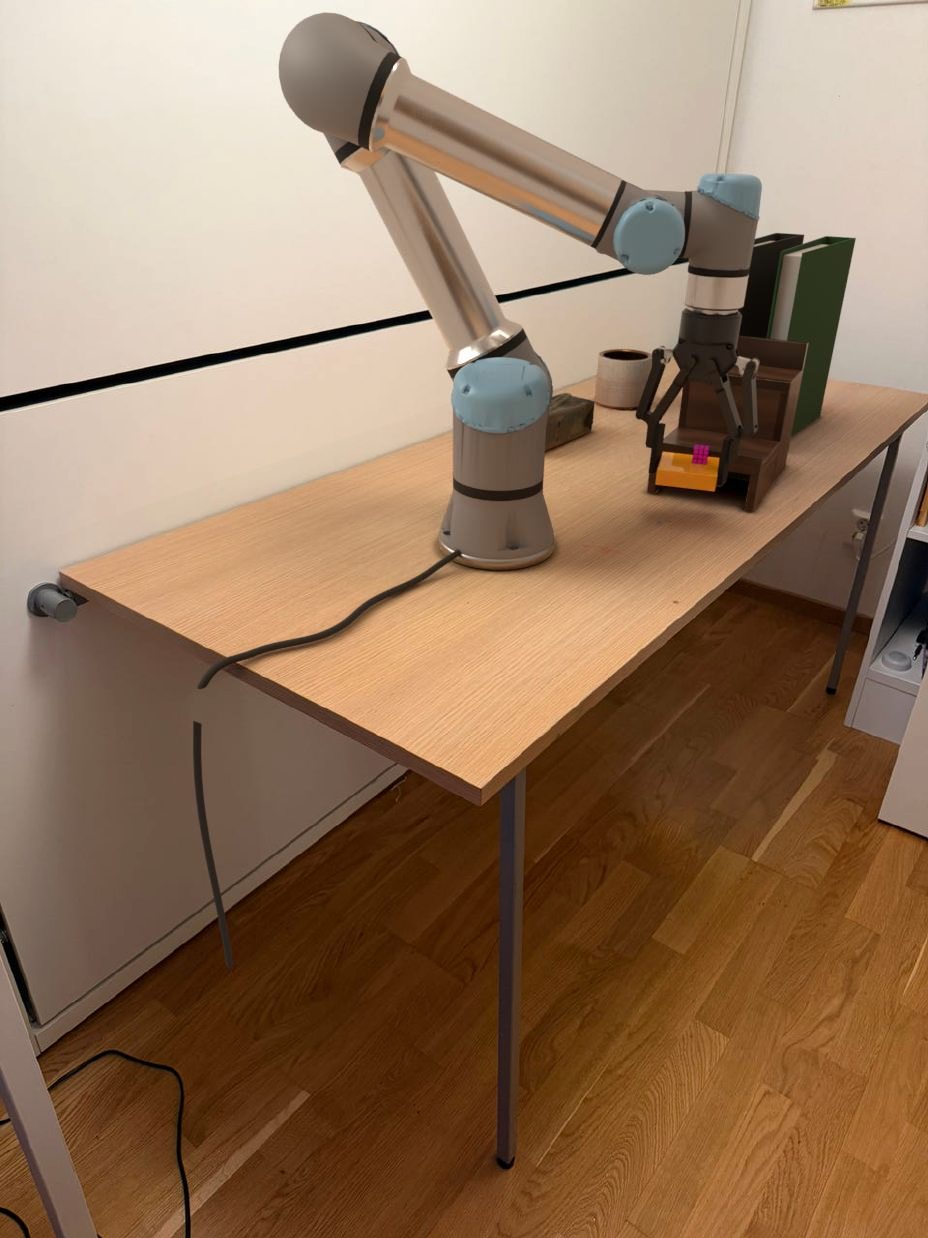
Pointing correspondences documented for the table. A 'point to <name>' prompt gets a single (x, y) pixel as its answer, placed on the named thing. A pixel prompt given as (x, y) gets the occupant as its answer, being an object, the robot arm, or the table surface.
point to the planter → (622, 377)
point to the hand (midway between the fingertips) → (687, 476)
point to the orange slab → (688, 470)
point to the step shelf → (774, 413)
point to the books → (799, 304)
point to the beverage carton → (568, 419)
